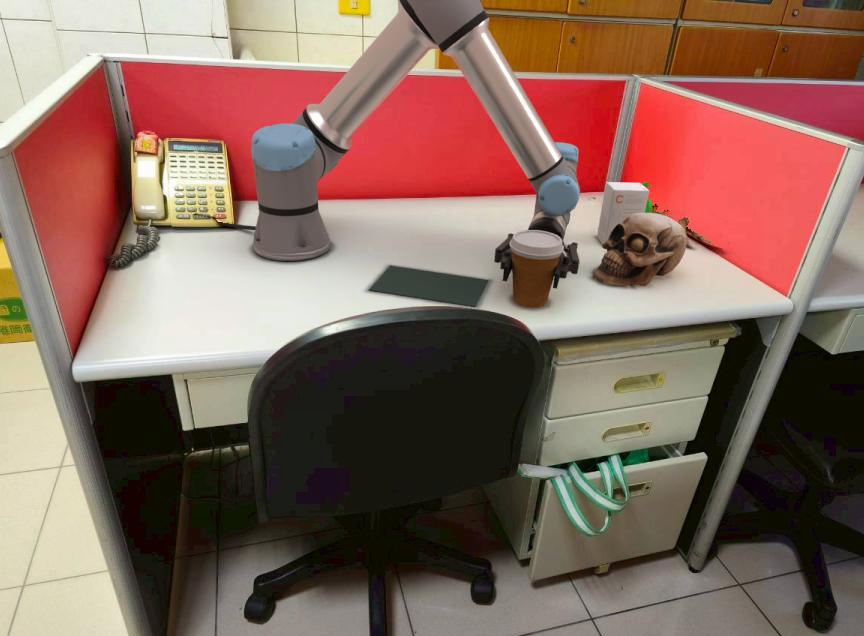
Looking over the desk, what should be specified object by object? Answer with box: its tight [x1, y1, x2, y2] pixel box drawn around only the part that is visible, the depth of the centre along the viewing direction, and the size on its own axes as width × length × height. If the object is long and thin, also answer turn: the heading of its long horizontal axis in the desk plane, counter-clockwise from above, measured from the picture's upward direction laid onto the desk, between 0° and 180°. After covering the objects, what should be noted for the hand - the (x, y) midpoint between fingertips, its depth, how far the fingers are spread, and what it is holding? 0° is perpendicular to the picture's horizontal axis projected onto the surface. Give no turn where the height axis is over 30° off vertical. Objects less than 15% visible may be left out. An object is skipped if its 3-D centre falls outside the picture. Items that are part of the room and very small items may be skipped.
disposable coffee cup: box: [509, 229, 564, 309], centre depth 112 cm, size 10×10×12 cm
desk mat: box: [368, 265, 489, 308], centre depth 118 cm, size 20×12×1 cm, turn 77°
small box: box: [596, 181, 650, 245], centre depth 141 cm, size 8×6×13 cm
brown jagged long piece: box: [678, 217, 718, 249], centre depth 147 cm, size 9×5×18 cm
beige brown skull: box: [592, 212, 687, 287], centre depth 126 cm, size 16×17×13 cm
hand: (530, 277), depth 108 cm, fingers closed on disposable coffee cup, 8 cm apart
